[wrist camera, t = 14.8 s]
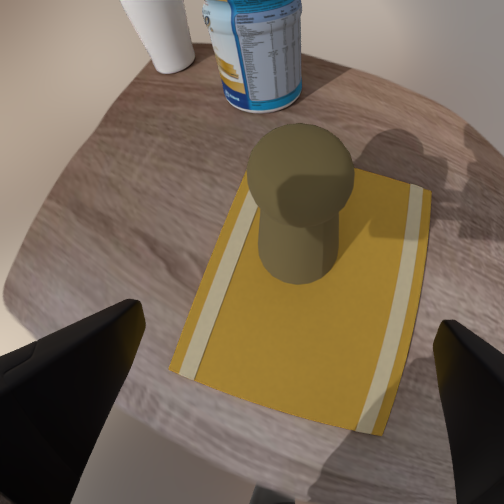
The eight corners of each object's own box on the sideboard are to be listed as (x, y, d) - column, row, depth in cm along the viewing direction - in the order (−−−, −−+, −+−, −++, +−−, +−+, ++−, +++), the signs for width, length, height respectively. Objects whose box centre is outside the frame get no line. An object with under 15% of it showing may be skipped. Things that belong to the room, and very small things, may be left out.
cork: (249, 220, 25) (221, 121, 14) (323, 201, 25) (338, 96, 14) (268, 294, 22) (249, 228, 12) (349, 272, 22) (391, 193, 12)
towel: (380, 435, 18) (382, 436, 18) (170, 369, 22) (167, 369, 21) (430, 193, 24) (432, 190, 24) (257, 148, 28) (256, 144, 27)
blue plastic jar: (289, 124, 28) (273, -83, 10) (210, 109, 30) (155, -68, 12) (312, 75, 31) (307, -91, 12) (242, 64, 33) (211, -87, 14)
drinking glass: (208, 65, 33) (178, -40, 20) (156, 86, 33) (112, -15, 19) (193, 44, 36) (166, -46, 22) (147, 63, 36) (110, -25, 22)
